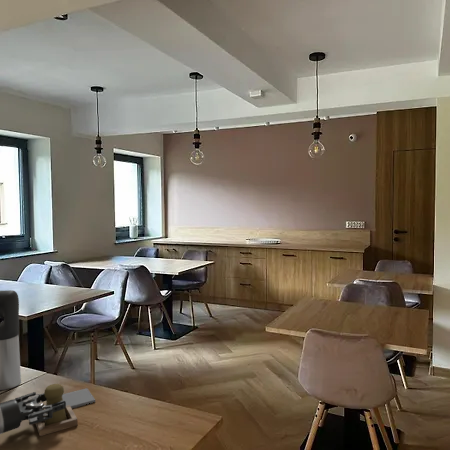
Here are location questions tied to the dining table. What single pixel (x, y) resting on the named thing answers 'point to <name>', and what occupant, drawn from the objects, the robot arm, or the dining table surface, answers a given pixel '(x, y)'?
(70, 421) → the wooden square frame
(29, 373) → the dining table surface
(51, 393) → the cork
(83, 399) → the slate tile
